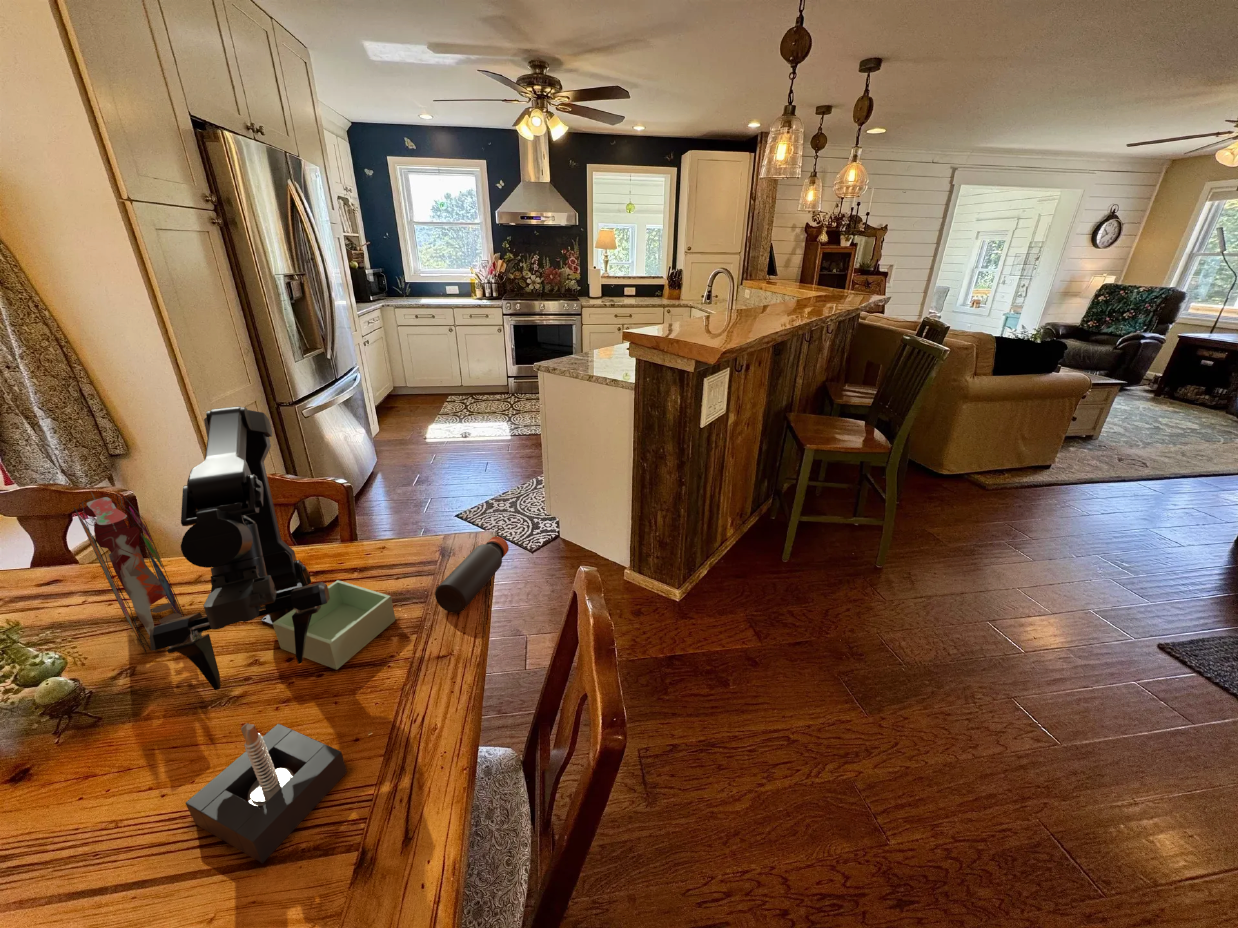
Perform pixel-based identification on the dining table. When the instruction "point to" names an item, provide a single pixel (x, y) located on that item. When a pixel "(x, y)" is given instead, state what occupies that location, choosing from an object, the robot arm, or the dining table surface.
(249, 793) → the screw
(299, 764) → the gray rectangular frame
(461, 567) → the bottle
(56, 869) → the dining table surface
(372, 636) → the parts bin
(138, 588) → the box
